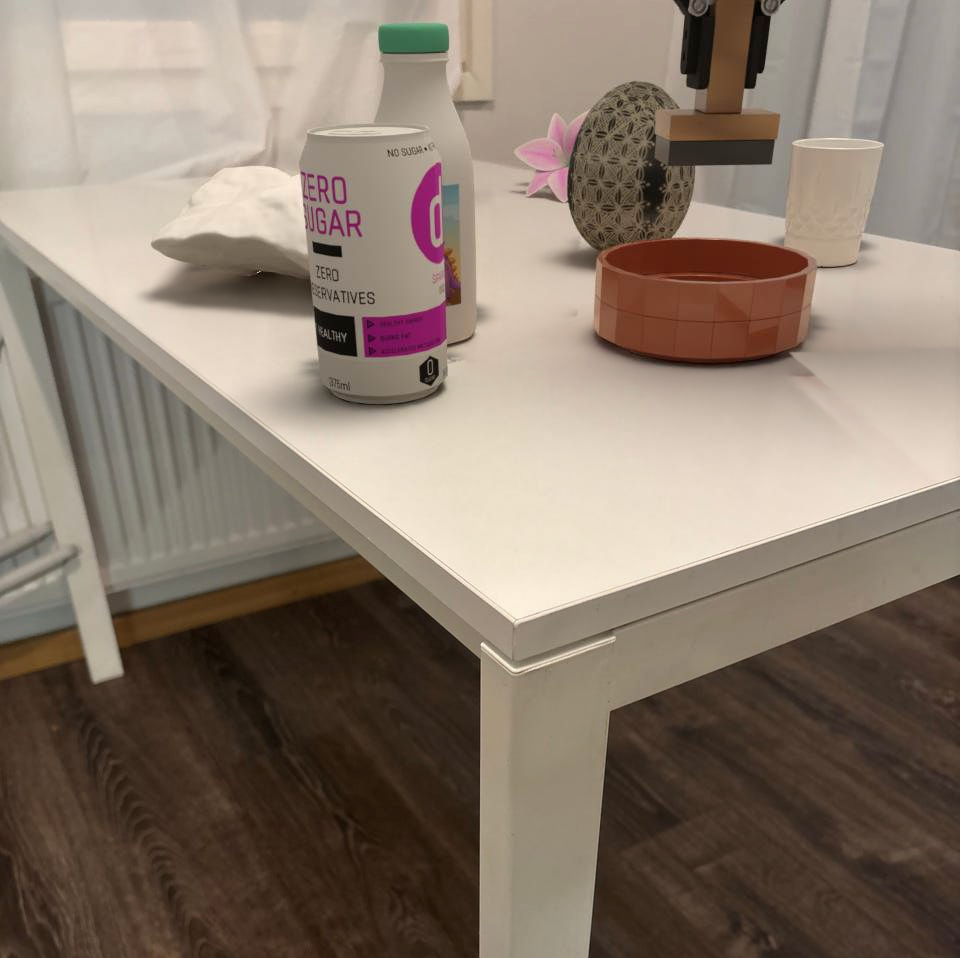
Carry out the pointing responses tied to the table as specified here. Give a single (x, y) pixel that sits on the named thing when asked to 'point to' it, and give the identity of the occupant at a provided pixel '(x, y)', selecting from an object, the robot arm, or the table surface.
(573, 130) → the lily
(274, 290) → the table surface
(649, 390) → the table surface
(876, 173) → the white cup
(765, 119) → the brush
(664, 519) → the table surface
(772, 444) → the table surface
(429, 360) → the supplement can
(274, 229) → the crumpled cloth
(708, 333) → the bowl
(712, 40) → the robot arm
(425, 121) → the milk bottle
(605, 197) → the decorative egg
